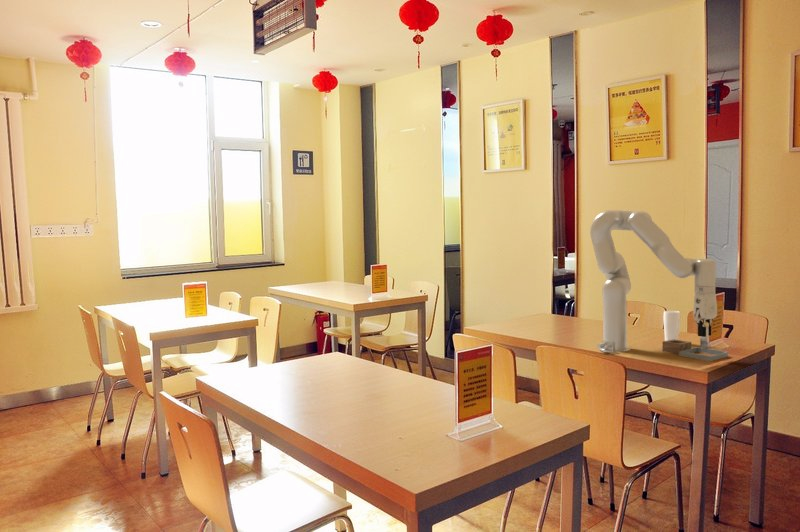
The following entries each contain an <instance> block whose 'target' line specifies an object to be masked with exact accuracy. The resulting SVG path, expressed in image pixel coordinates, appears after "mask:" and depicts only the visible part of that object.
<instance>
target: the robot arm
mask: <svg viewBox="0 0 800 532" xmlns="http://www.w3.org/2000/svg"><path fill="white" fill-rule="evenodd" d="M590 224H591V225H590V229H589V231H590V232H589V234H590V238H591V243H592V248H593V251H594V255H595V260H596V262H597V266H598V270H599V271H600V272H601V273H602V274H604V275H605V278H606V280H605V281H604V283H603V285H602V291H601V292H602V305H603V306H602V309H603V311H602V313H603V314H602V315H603V317H602V319H603V321H602V324H603V326H602V327H603V329H602V333H603V334H602V335H603V336H602V341H601V343H598V344H596V348H597V349H599V351H601V352H603V353H608V354H609V353H610V354H618V353H620V352H622V353H623V352H628V351H631V348H630V347H629V346H627V344H628V343H627V342H628V341H627V340H628V339H627V338H628V337H627V336H628V331H627V329H628V327H627V326H628V325H627V324H628V314H627V313H628V311H627V310H628V305H627V304H628V303H627V295H629V293H630V291H631V288H632V283H631V279H630V274H629V272H628V271H629V270H628V269H627V264H626V261H625V258H624V256H623V255H622V254H621V253H620V252H617V251H616V247H615V243H614V240H613V237H612V231H632V232H633V233H634V234H635V236H636V237H638V238H639V239H640V240H641V241H642V242H643V243H644V244H645V246H647V248H649V250H650V251H651V252H652V253H653V254H654V256H656V258H657V259H658V260H659V261H660V262H661V263H662V265H664V267H666V268H667V269H668V271H670V273H671V274H672V275H673V276H675V277H677V278H680V279H687V278H688V277H692V276H694V285H693V286H694V290H693V291H694V300H693V311H692V312H693V320H694V322H695V323H696V327H697V336H698V337H700V336H702V337H706V327H705V321H707V322H708V323H709V337H711V335H712V325H713V321H714V319H715V318H716V317H717V316H718V302H717V295H716V273H717V272H716V269H717V268H716V260H714V259H712V258H699V259H697V258H695V259H694V258H689V257H684V256H683V255H682V254H681V253H680V252H679V251H678V250H677V249H676V247H675V246H674V245H673V244H672V241H671V239H670V237H669V236H668V234H667V233H666V232H665V231H663V230H662V228H661V227H659V226H658V225H657V224H656V223H655V222H654V221H653V219H652V216H651V215H650V214H649V212H646V211H644V210H635V211H633V210H617V209H613V210H612V209H611V210H609V209H608V210H604V211H602V212H600V213H599V214H597V216H595V218H594V219H593V220H592V222H591V223H590ZM702 321H703V322H702Z"/></svg>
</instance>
